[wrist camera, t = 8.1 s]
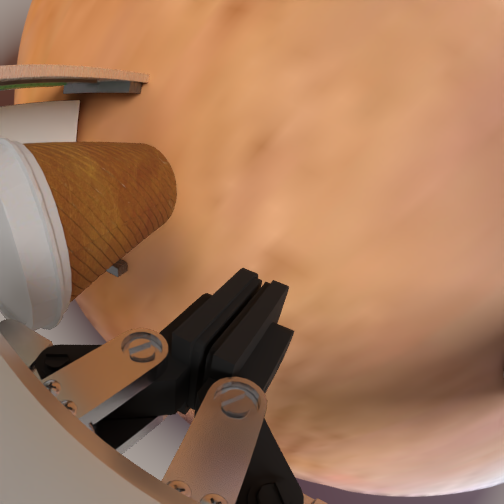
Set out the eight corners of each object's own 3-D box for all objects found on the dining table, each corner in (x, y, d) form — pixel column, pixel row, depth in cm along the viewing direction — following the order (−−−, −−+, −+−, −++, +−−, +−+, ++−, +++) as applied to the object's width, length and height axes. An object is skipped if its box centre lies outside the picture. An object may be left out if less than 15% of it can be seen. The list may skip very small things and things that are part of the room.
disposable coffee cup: (218, 236, 19) (72, 352, 8) (122, 259, 23) (6, 335, 12) (172, 96, 16) (-10, 98, 6) (85, 151, 20) (-47, 188, 10)
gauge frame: (149, 74, 16) (-79, 78, 3) (131, 273, 23) (-13, 381, 10) (68, 78, 18) (-88, 99, 5) (62, 237, 25) (-58, 304, 12)
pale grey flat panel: (81, 89, 17) (-83, 112, 5) (75, 236, 23) (-51, 307, 11) (74, 89, 18) (-84, 112, 5) (69, 233, 23) (-55, 300, 11)
